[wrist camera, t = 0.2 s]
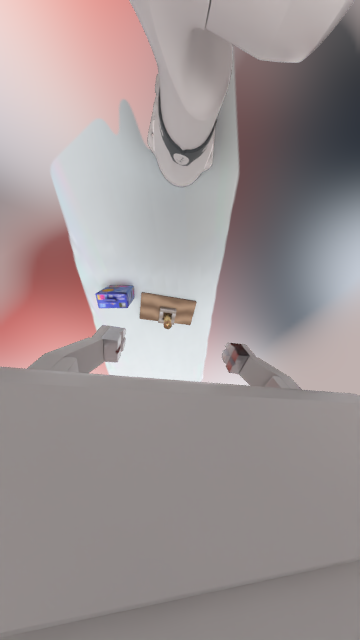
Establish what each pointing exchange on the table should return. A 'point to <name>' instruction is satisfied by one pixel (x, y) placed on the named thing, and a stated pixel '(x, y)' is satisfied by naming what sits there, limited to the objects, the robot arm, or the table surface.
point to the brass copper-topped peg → (167, 320)
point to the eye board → (166, 308)
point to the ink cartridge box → (115, 296)
